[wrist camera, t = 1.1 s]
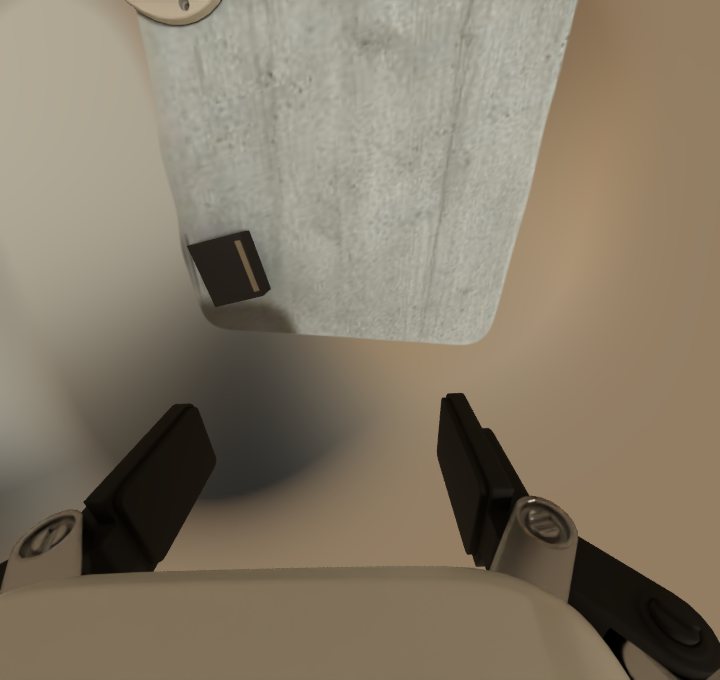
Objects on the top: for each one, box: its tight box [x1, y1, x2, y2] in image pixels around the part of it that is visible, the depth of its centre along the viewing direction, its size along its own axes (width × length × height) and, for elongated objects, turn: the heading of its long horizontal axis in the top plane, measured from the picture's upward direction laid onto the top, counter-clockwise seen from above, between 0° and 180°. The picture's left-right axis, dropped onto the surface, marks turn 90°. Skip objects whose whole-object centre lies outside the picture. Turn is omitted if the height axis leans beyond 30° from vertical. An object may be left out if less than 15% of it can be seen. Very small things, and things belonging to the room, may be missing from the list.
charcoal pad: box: [187, 231, 271, 307], centre depth 33 cm, size 7×6×3 cm
